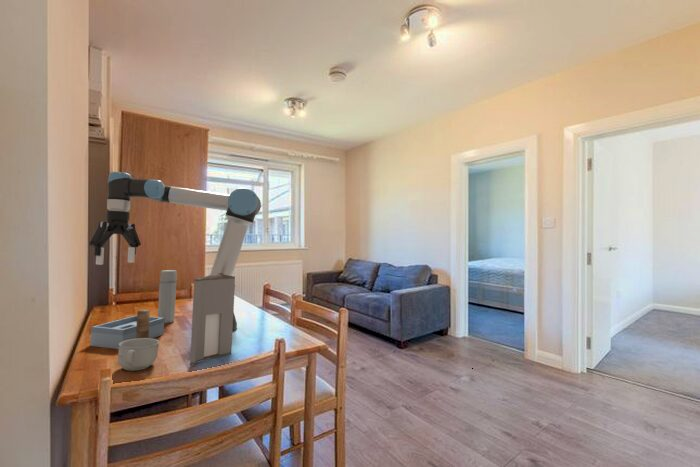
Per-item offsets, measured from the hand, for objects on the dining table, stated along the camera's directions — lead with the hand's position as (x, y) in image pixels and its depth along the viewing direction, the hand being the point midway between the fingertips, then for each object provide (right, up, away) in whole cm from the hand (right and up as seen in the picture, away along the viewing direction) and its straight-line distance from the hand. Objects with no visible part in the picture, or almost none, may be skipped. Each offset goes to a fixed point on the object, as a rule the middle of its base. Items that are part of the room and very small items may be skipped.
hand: (116, 263), depth 129 cm
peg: (+17, -31, -11) cm, 37 cm away
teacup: (+27, -31, -29) cm, 50 cm away
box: (+6, -30, -1) cm, 31 cm away
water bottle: (+4, -31, +28) cm, 43 cm away
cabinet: (+46, -32, -13) cm, 58 cm away
